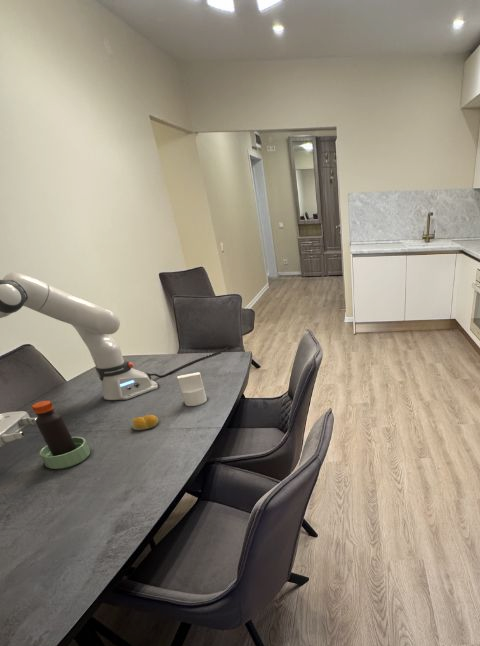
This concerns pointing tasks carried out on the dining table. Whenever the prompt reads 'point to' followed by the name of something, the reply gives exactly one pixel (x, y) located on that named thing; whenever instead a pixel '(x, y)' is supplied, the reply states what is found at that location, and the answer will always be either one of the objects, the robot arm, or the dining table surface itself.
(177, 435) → the dining table surface
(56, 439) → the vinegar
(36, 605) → the dining table surface
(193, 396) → the cylinder with rectangular tab
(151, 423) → the bread roll
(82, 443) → the bowl
